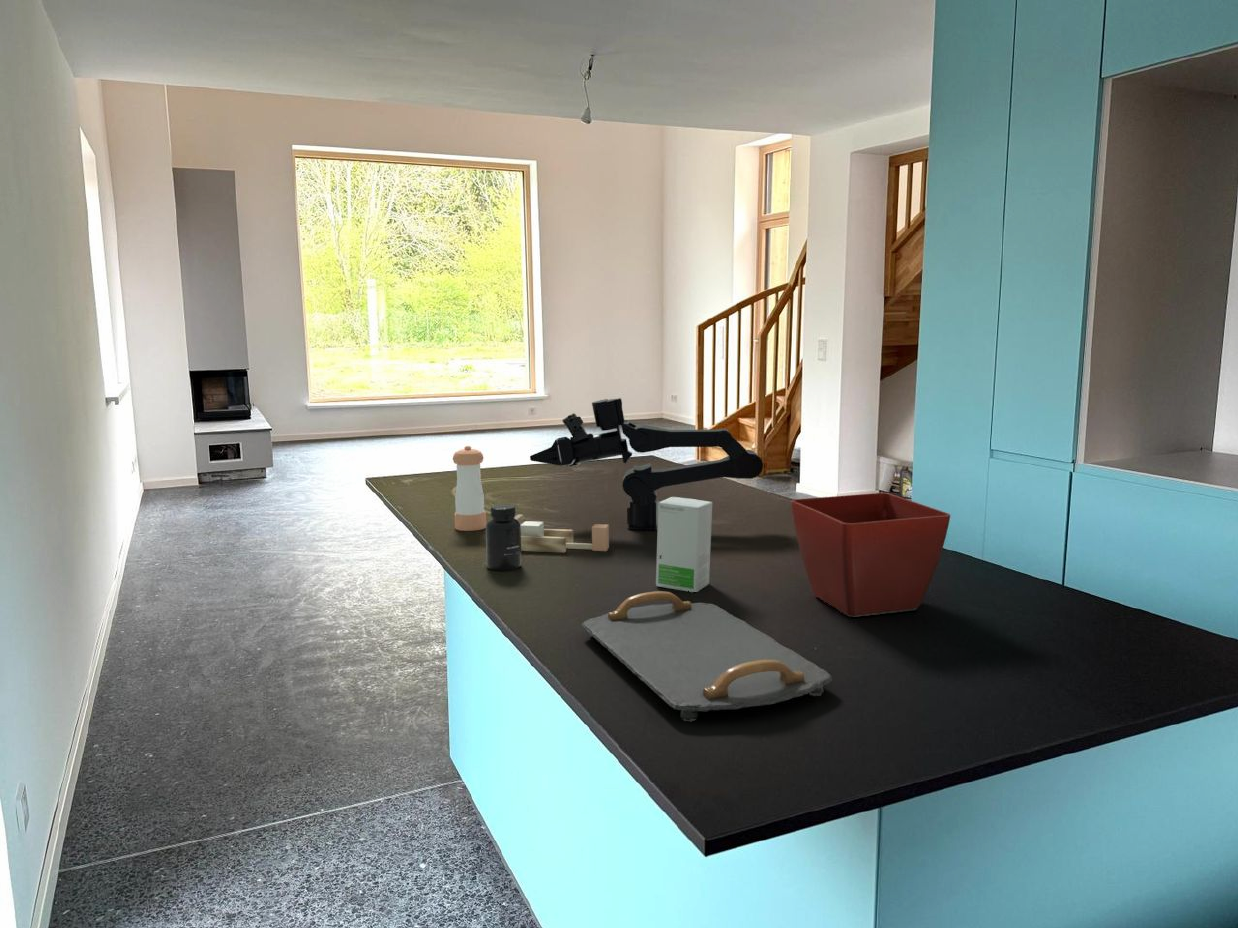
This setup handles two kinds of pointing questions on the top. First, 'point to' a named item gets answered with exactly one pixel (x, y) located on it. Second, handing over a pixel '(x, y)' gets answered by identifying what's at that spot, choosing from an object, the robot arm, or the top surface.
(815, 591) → the plant pot
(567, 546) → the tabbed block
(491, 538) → the supplement bottle
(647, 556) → the top surface
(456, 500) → the pepper shaker
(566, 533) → the oak lane
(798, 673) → the serving board
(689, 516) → the skincare box
